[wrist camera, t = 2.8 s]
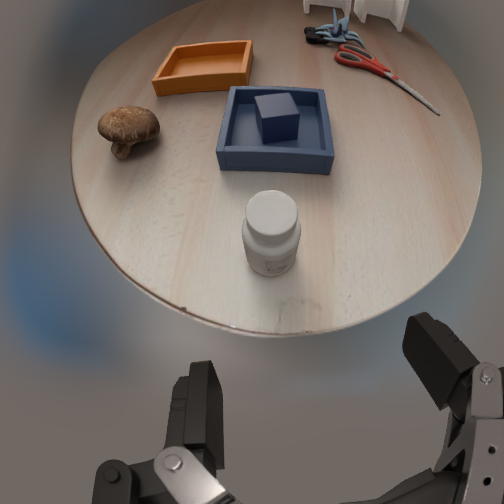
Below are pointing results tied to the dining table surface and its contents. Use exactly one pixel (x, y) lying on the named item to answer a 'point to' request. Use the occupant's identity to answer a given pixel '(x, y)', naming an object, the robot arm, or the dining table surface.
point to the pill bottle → (271, 232)
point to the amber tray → (204, 67)
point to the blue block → (277, 117)
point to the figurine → (332, 32)
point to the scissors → (374, 68)
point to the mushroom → (127, 128)
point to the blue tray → (279, 153)
